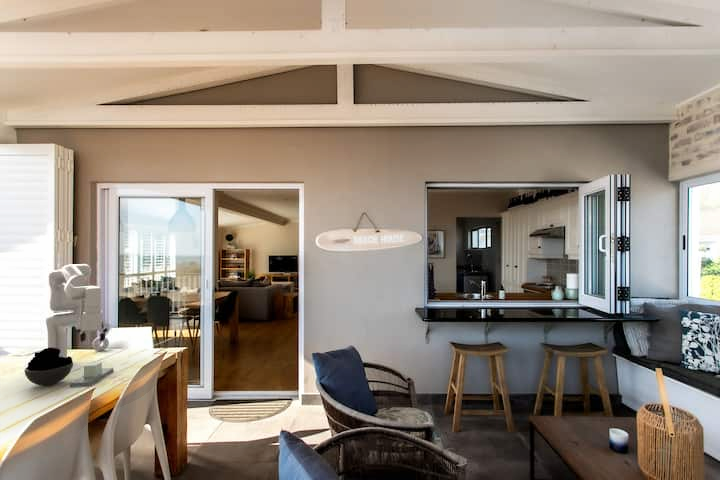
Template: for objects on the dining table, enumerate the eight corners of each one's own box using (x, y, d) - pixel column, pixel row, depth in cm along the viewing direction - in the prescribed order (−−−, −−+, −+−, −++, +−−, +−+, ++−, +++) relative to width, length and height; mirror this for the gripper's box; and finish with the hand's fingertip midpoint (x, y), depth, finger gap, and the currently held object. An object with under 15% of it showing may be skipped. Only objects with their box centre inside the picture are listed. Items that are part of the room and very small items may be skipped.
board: (69, 387, 199) (69, 383, 199) (94, 372, 223) (94, 368, 223) (90, 385, 201) (90, 382, 201) (113, 371, 224) (113, 367, 224)
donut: (109, 349, 274) (109, 335, 275) (108, 350, 271) (108, 336, 271) (92, 351, 270) (92, 336, 270) (91, 352, 267) (91, 337, 267)
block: (83, 377, 209) (83, 366, 209) (89, 373, 214) (90, 362, 215) (95, 376, 209) (95, 365, 209) (101, 373, 215) (101, 362, 215)
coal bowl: (67, 375, 217) (67, 342, 218) (78, 383, 205) (78, 347, 205) (20, 385, 202) (20, 349, 202) (29, 394, 189) (29, 356, 190)
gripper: (71, 311, 208) (71, 343, 208) (106, 310, 210) (106, 341, 210) (79, 308, 215) (79, 339, 215) (113, 308, 218) (113, 338, 217)
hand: (92, 340), depth 212 cm, fingers open, 9 cm apart
